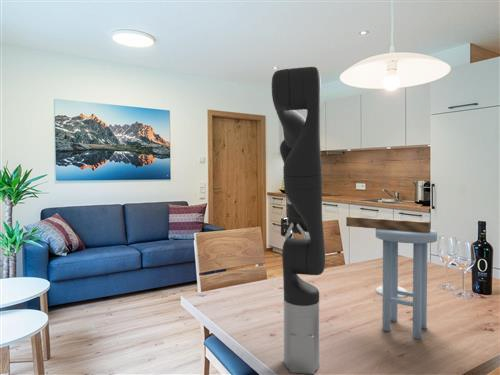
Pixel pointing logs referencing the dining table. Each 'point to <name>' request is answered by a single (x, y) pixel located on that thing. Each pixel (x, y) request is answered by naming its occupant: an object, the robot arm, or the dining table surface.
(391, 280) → the stool
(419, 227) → the thin wooden plank
